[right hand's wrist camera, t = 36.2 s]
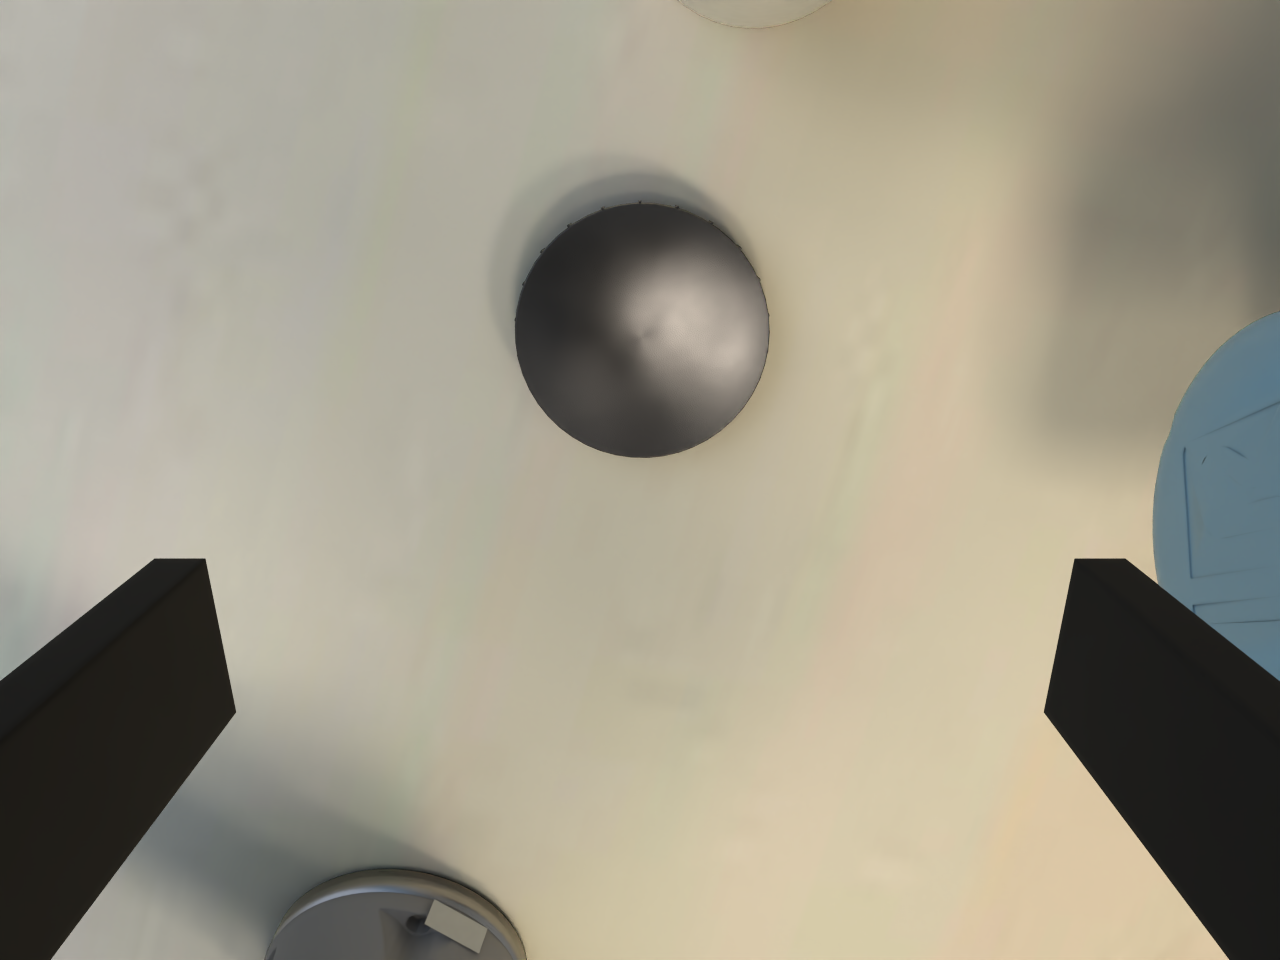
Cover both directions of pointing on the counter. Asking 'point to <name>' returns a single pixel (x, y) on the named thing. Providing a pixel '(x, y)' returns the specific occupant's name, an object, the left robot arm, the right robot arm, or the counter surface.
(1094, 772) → the right robot arm
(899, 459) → the counter surface
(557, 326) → the lid
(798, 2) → the jar
